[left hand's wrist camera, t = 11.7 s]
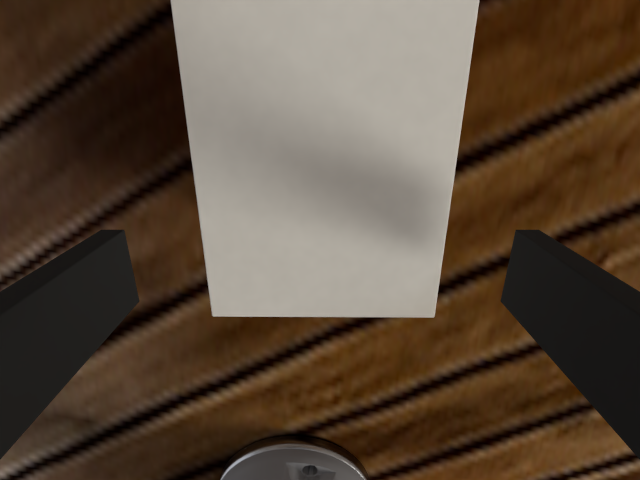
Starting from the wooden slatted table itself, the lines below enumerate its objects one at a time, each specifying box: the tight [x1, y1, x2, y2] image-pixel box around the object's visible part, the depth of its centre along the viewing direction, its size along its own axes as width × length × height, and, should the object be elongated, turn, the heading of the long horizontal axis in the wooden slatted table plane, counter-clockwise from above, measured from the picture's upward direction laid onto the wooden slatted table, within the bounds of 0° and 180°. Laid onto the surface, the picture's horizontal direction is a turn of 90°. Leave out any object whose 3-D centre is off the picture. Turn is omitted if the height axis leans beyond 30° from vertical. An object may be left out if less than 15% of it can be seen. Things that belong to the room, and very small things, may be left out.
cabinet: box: [171, 0, 479, 317], centre depth 17 cm, size 18×10×11 cm, turn 0°
